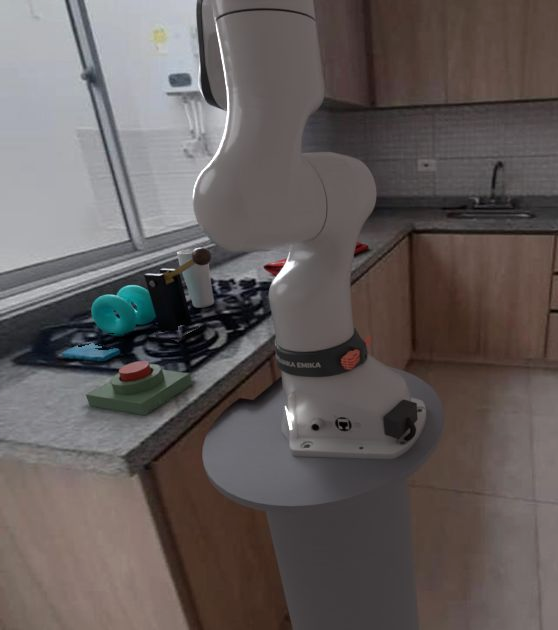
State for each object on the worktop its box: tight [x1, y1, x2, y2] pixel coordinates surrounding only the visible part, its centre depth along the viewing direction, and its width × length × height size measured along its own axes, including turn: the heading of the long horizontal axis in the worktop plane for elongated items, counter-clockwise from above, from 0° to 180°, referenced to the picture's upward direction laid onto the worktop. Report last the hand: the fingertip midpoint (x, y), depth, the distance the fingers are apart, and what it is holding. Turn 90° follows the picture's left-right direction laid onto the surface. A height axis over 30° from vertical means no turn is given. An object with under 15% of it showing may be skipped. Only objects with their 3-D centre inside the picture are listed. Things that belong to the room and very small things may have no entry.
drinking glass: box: [176, 247, 215, 309], centre depth 116 cm, size 7×7×15 cm
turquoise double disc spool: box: [90, 284, 156, 337], centre depth 103 cm, size 10×10×10 cm
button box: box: [85, 363, 193, 416], centre depth 75 cm, size 12×10×4 cm
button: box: [118, 360, 152, 382], centre depth 74 cm, size 4×4×2 cm
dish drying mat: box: [262, 241, 369, 276], centre depth 159 cm, size 16×41×4 cm, turn 154°
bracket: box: [143, 268, 208, 345], centre depth 98 cm, size 8×9×15 cm
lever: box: [162, 247, 212, 285], centre depth 93 cm, size 16×4×4 cm, turn 72°
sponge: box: [61, 342, 122, 362], centre depth 92 cm, size 2×12×6 cm
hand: (223, 208), depth 93 cm, fingers closed
